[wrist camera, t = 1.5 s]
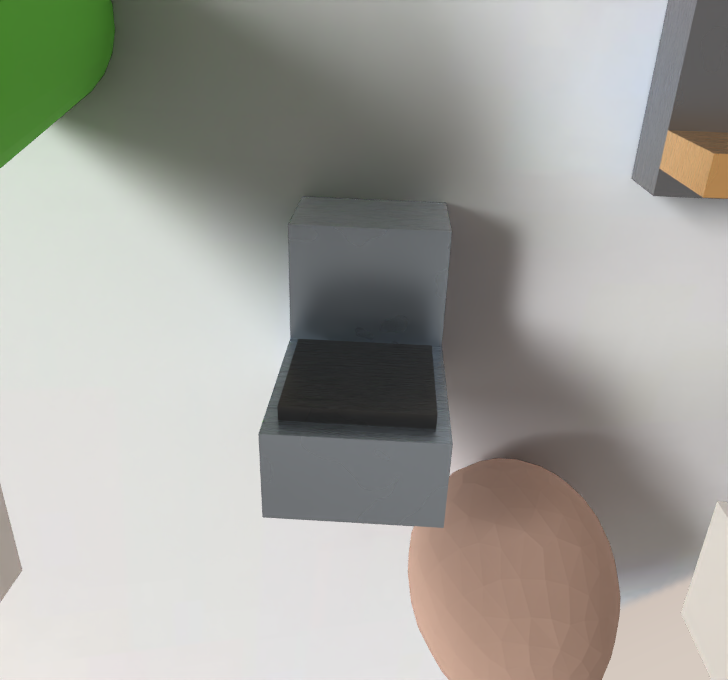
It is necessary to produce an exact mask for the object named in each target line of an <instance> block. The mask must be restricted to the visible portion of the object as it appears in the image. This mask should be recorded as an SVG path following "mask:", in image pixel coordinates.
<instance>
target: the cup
mask: <svg viewBox="0 0 728 680" xmlns="http://www.w3.org/2000/svg"><path fill="white" fill-rule="evenodd" d="M114 34H115V26H114V16H113V6H112V2H111V0H0V168H1V167H2V166H4V165H5V164H6V163H7V162H8V161H10V160H11V159H12V158H13V157H14V156H15V155H17V154H18V153H19V152H20V151H21V150H23V149H24V148H25V147H26V146H27V145H28V144H30V143H31V142H32V141H33V140H34V139H36V138H37V137H38V136H39V135H40V134H41V133H43V132H44V131H45V130H46V129H47V128H49V127H50V126H51V125H52V124H53V123H54V122H56V121H57V120H58V119H59V118H60V117H62V116H63V115H64V114H65V113H66V112H67V111H69V110H70V109H71V108H72V107H73V106H74V105H76V104H77V103H78V102H79V101H80V100H82V99H83V98H84V97H85V96H86V95H87V94H89V93H90V92H91V91H92V90H93V89H94V87H95V86H96V85H97V83H98V82H99V81H100V79H101V78H102V77H103V75H104V73H105V71H106V68H107V66H108V63H109V60H110V58H111V55H112V50H113V42H114Z"/></svg>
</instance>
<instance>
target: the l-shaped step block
mask: <svg viewBox="0 0 728 680" xmlns="http://www.w3.org/2000/svg"><path fill="white" fill-rule="evenodd" d="M451 238H452V229H451V224H450V220H449V215H448V210H447V205H446V203H440V202H417V201H394V200H371V199H347V198H324V197H302V198H301V200H300V202H299V204H298V206H297V208H296V210H295V212H294V214H293V216H292V218H291V220H290V222H289V224H288V243H289V290H290V336H291V338H290V341H289V344H288V347H287V350H286V353H285V356H284V359H283V362H282V365H281V368H280V371H279V374H278V377H277V380H276V383H275V386H274V389H273V392H272V395H271V398H270V401H269V404H268V407H267V410H266V413H265V416H264V419H263V422H262V425H261V428H260V431H259V452H260V473H261V494H262V514H263V517H267V518H284V519H301V520H318V521H335V522H352V523H369V524H386V525H403V526H420V527H437V528H444V520H445V510H446V501H447V492H448V483H449V473H450V464H451V455H452V445H453V444H452V435H451V426H450V417H449V408H448V399H447V390H446V381H445V372H444V362H443V353H442V336H443V325H444V314H445V304H446V293H447V282H448V271H449V260H450V249H451Z"/></svg>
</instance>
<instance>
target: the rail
mask: <svg viewBox="0 0 728 680" xmlns="http://www.w3.org/2000/svg"><path fill="white" fill-rule="evenodd" d="M631 179H633V180H634V181H635V182H636V183H638V184H639V185H640V186H641V187H643V188H644V189H645V190H646V191H648V192H649V193H650V194H652V195H653V196H670V197H694V198H717V199H728V0H668V5H667V10H666V15H665V20H664V24H663V29H662V34H661V39H660V44H659V48H658V53H657V58H656V63H655V68H654V72H653V77H652V82H651V87H650V92H649V97H648V101H647V106H646V111H645V116H644V121H643V125H642V130H641V135H640V140H639V145H638V149H637V154H636V159H635V164H634V169H633V174H632V178H631Z"/></svg>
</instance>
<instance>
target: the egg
mask: <svg viewBox="0 0 728 680" xmlns="http://www.w3.org/2000/svg"><path fill="white" fill-rule="evenodd" d="M408 578H409V587H410V596H411V603H412V607H413V610H414V614H415V618H416V621H417V625H418V628H419V630H420V632H421V634H422V636H423V638H424V640H425V642H426V644H427V646H428V648H429V650H430V652H431V653H432V655H433V657H434V659H435V660H436V662H437V664H438V665H439V667H440V669H441V671H442V672H443V673H444V675H445V676H446V677H447V678H448V679H449V680H602V678H603V675H604V673H605V670H606V668H607V665H608V663H609V661H610V658H611V655H612V651H613V647H614V643H615V638H616V632H617V627H618V621H619V614H620V591H619V584H618V577H617V571H616V565H615V560H614V557H613V553H612V550H611V547H610V544H609V541H608V539H607V537H606V535H605V532H604V530H603V528H602V526H601V524H600V522H599V520H598V518H597V516H596V515H595V513H594V512H593V511H592V509H591V508H590V507H589V505H588V504H587V502H586V501H585V500H584V498H582V497H581V496H580V495H579V494H578V493H577V492H576V491H575V490H574V489H573V488H572V487H571V486H570V485H569V484H568V483H566V482H565V481H564V480H563V479H561V478H560V477H559V476H557V475H556V474H554V473H552V472H550V471H548V470H546V469H544V468H543V467H541V466H538V465H535V464H531V463H528V462H524V461H520V460H517V459H501V458H495V459H490V460H485V461H480V462H477V463H474V464H472V465H470V466H467V467H465V468H462V469H460V470H458V471H456V472H454V473H453V474H451V475H450V476H449V483H448V492H447V501H446V510H445V520H444V528H437V527H420V526H414V528H413V530H412V533H411V541H410V548H409V560H408Z"/></svg>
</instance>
